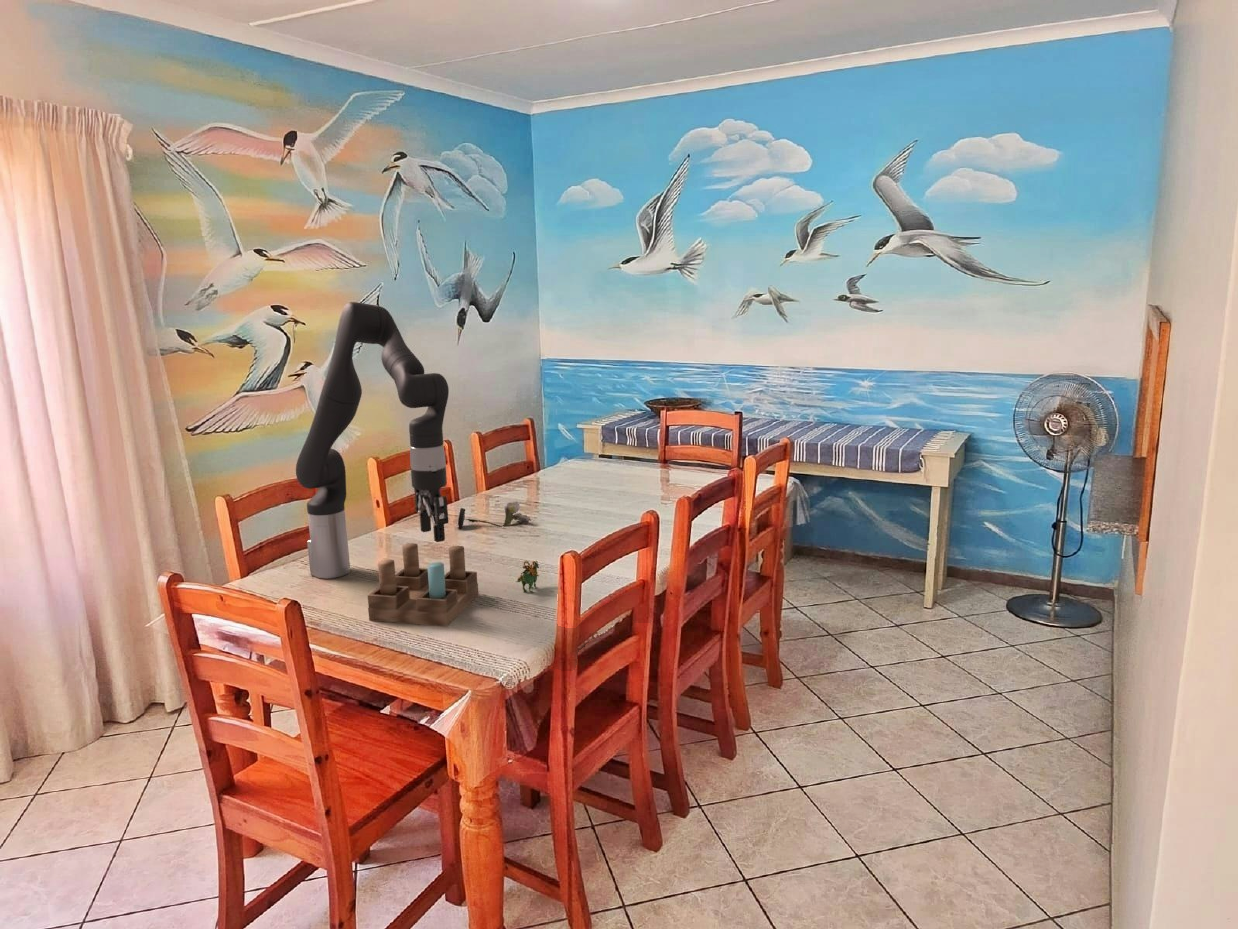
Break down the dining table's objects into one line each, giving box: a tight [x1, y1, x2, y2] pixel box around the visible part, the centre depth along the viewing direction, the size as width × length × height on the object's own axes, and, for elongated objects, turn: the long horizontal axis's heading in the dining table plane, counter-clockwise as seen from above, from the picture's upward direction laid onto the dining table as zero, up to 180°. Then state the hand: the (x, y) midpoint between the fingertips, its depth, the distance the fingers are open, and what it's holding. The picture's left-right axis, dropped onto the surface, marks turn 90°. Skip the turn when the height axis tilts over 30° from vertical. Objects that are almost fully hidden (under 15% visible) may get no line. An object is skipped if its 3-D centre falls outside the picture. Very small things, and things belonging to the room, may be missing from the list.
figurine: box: [515, 560, 540, 594], centre depth 201 cm, size 3×12×8 cm, turn 160°
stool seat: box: [367, 542, 480, 627], centre depth 192 cm, size 19×19×13 cm
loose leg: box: [427, 561, 446, 599], centre depth 185 cm, size 4×4×10 cm
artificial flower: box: [457, 501, 531, 530], centre depth 257 cm, size 9×22×10 cm, turn 96°
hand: (432, 536), depth 182 cm, fingers open, 8 cm apart
